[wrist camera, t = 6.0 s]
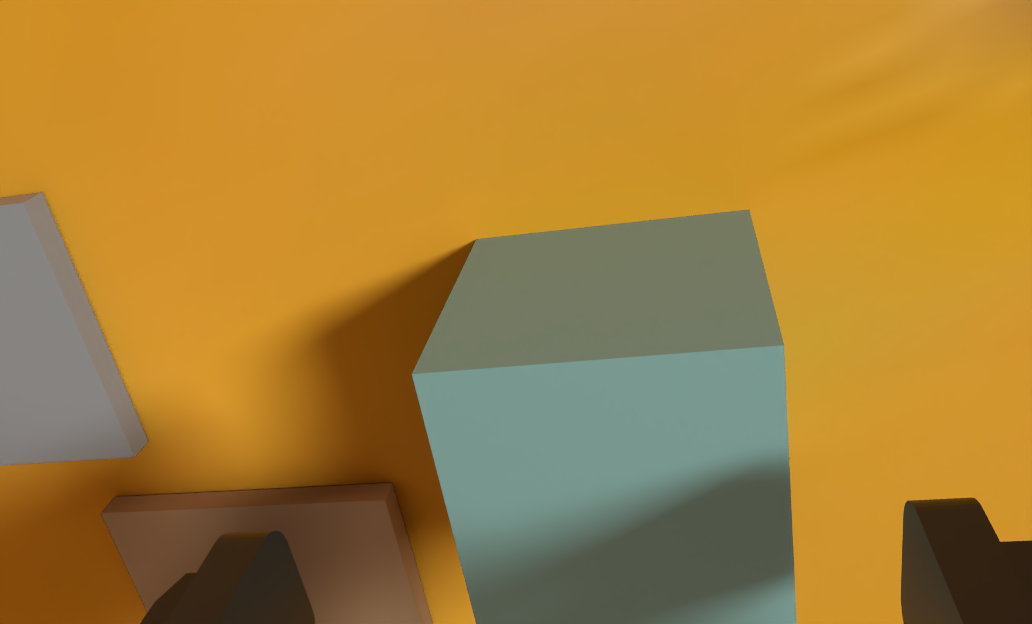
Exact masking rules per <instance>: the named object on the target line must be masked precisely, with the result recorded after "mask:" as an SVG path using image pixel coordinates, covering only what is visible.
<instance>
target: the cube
mask: <svg viewBox="0 0 1032 624" xmlns="http://www.w3.org/2000/svg"><path fill="white" fill-rule="evenodd" d="M412 377H413V381H414V385H415V389H416V393H417V397H418V401H419V404H420V408H421V412H422V416H423V420H424V424H425V428H426V431H427V435H428V439H429V443H430V447H431V451H432V455H433V458H434V462H435V466H436V470H437V474H438V478H439V482H440V485H441V489H442V493H443V497H444V501H445V505H446V509H447V512H448V516H449V520H450V524H451V528H452V532H453V536H454V539H455V543H456V547H457V551H458V555H459V559H460V563H461V567H462V570H463V574H464V578H465V582H466V586H467V590H468V594H469V597H470V601H471V605H472V609H473V613H474V617H475V621H476V624H796V602H795V580H794V557H793V535H792V513H791V491H790V468H789V446H788V424H787V402H786V379H785V357H784V343H783V340H782V336H781V332H780V328H779V324H778V320H777V316H776V312H775V308H774V305H773V301H772V297H771V293H770V289H769V285H768V281H767V277H766V273H765V269H764V266H763V262H762V258H761V254H760V250H759V246H758V242H757V238H756V234H755V231H754V227H753V223H752V219H751V215H750V211H749V210H741V211H732V212H723V213H714V214H704V215H695V216H686V217H677V218H668V219H658V220H649V221H640V222H631V223H622V224H612V225H603V226H594V227H585V228H576V229H567V230H557V231H548V232H539V233H530V234H521V235H511V236H502V237H493V238H484V239H476V241H475V243H474V245H473V247H472V249H471V251H470V253H469V256H468V258H467V260H466V262H465V264H464V266H463V268H462V270H461V272H460V274H459V276H458V279H457V281H456V283H455V285H454V287H453V289H452V291H451V293H450V295H449V297H448V299H447V301H446V304H445V306H444V308H443V310H442V312H441V314H440V316H439V318H438V320H437V322H436V324H435V327H434V329H433V331H432V333H431V335H430V337H429V339H428V341H427V343H426V345H425V347H424V349H423V352H422V354H421V356H420V358H419V360H418V362H417V364H416V366H415V368H414V370H413V372H412Z"/></svg>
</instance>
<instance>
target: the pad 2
mask: <svg viewBox="0 0 1032 624" xmlns="http://www.w3.org/2000/svg"><path fill="white" fill-rule="evenodd" d="M101 516H102V518H103V520H104V522H105V524H106V526H107V528H108V530H109V532H110V535H111V537H112V539H113V541H114V543H115V545H116V547H117V549H118V551H119V554H120V556H121V558H122V560H123V562H124V564H125V566H126V568H127V570H128V572H129V575H130V577H131V579H132V581H133V583H134V585H135V587H136V589H137V591H138V594H139V596H140V598H141V600H142V602H143V604H144V606H145V608H146V610H147V613H148V611H149V610H150V608H151V607H152V605H153V604H154V602H155V601H156V600H157V599H158V598H159V597H161V596H162V595H163V594H164V593H165V592H166V591H167V590H168V589H169V588H171V587H172V586H173V585H174V584H175V583H176V582H177V581H178V580H179V579H181V578H182V577H183V576H184V575H185V574H186V573H197V571H198V569H199V568H200V566H201V564H202V563H203V561H204V560H205V558H206V556H207V555H208V553H209V551H210V550H211V548H212V547H213V545H214V543H215V542H216V541H217V539H218V538H219V537H220V536H221V535H223V534H225V533H234V532H254V531H274V530H276V531H279V532H281V533H282V534H283V535H284V536H285V538H286V539H287V542H288V544H289V547H290V549H291V552H292V555H293V558H294V560H295V563H296V566H297V568H298V571H299V574H300V577H301V579H302V582H303V585H304V587H305V590H306V593H307V596H308V598H309V601H310V604H311V606H312V609H313V613H314V617H315V624H433V622H432V619H431V615H430V612H429V608H428V605H427V601H426V598H425V594H424V591H423V588H422V584H421V581H420V577H419V574H418V570H417V567H416V563H415V560H414V556H413V553H412V549H411V546H410V542H409V539H408V535H407V532H406V528H405V525H404V521H403V518H402V514H401V511H400V507H399V504H398V501H397V497H396V494H395V490H394V487H393V483H378V484H359V485H339V486H319V487H300V488H280V489H260V490H241V491H221V492H201V493H182V494H162V495H142V496H123V497H114V498H113V499H112V501H111V502H110V503H109V504H108V505H107V506H106V508H105V509H104V510H103V511H102V512H101Z"/></svg>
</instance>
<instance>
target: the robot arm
mask: <svg viewBox="0 0 1032 624" xmlns="http://www.w3.org/2000/svg"><path fill="white" fill-rule="evenodd" d="M901 606H902V615H903V622H904V624H1032V541H1012V542H1000V541H999V539H998V537H997V535H996V533H995V531H994V529H993V527H992V525H991V523H990V522H989V520H988V518H987V516H986V514H985V512H984V510H983V508H982V506H981V505H980V503H979V502H978V501H977V500H976V499H975V498H955V499H935V500H915V501H907V502H906V504H905V507H904V516H903V546H902V577H901ZM141 624H315V617H314V613H313V609H312V606H311V604H310V601H309V598H308V596H307V593H306V590H305V587H304V585H303V582H302V579H301V577H300V574H299V571H298V568H297V566H296V563H295V560H294V558H293V555H292V552H291V549H290V547H289V544H288V542H287V539H286V538H285V536H284V535H283V534H282V533H281V532H279V531H276V530H274V531H254V532H234V533H225V534H223V535H221V536H220V537H219V538H218V539H217V541H216V542H215V543H214V545H213V547H212V548H211V550H210V551H209V553H208V555H207V556H206V558H205V560H204V561H203V563H202V564H201V566H200V568H199V569H198V571H197V573H186V574H185V575H184V576H183V577H182V578H181V579H179V580H178V581H177V582H176V583H175V584H174V585H173V586H172V587H171V588H169V589H168V590H167V591H166V592H165V593H164V594H163V595H162V596H161V597H159V598H158V599H157V600H156V601H155V602H154V604H153V605H152V607H151V608H150V610H149V611H148V613H147V614H146V616H145V617H144V619H143V620H142V622H141Z"/></svg>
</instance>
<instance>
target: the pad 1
mask: <svg viewBox="0 0 1032 624" xmlns="http://www.w3.org/2000/svg"><path fill="white" fill-rule="evenodd" d="M147 443H148V439H147V437H146V434H145V432H144V430H143V427H142V425H141V423H140V420H139V418H138V416H137V413H136V411H135V409H134V406H133V404H132V401H131V399H130V397H129V394H128V392H127V390H126V387H125V385H124V383H123V380H122V378H121V376H120V373H119V371H118V369H117V366H116V364H115V362H114V359H113V357H112V354H111V352H110V350H109V347H108V345H107V343H106V340H105V338H104V336H103V333H102V331H101V329H100V326H99V324H98V322H97V319H96V317H95V315H94V312H93V310H92V307H91V305H90V303H89V300H88V298H87V296H86V293H85V291H84V289H83V286H82V284H81V282H80V279H79V277H78V275H77V272H76V270H75V267H74V265H73V263H72V260H71V258H70V256H69V253H68V251H67V249H66V246H65V244H64V242H63V239H62V237H61V235H60V232H59V230H58V228H57V225H56V223H55V220H54V218H53V216H52V213H51V211H50V209H49V206H48V204H47V202H46V199H45V197H44V195H43V192H40V193H32V194H25V195H18V196H10V197H3V198H0V465H16V464H33V463H49V462H66V461H82V460H98V459H115V458H131V457H135V456H136V455H137V454H138V453H139V452H140V451H141V449H142V448H143V447H144V446H145V445H146V444H147Z"/></svg>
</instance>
